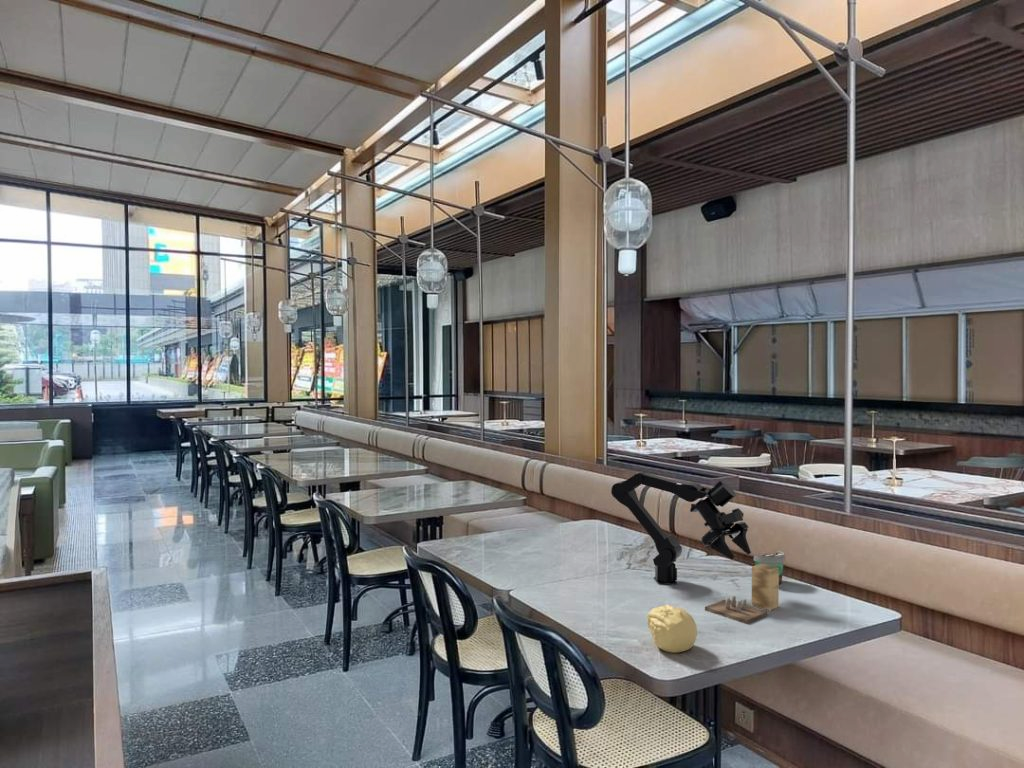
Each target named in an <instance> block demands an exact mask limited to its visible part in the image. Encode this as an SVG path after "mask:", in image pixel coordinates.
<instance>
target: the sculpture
mask: <svg viewBox="0 0 1024 768" xmlns="http://www.w3.org/2000/svg"><path fill="white" fill-rule="evenodd" d="M646 616H647V617H646V618H647V627H648V629H649V631H650V634H651V637H652V641H653V643H654V644H655V646H656V647H658V648H659V649H661V650H662V651H665V652H668V653H672V654H673V653H676V654H677V653H682V652H685V651H688V650H689V649H691V648H692V647H693V646H694V645H695V643H696V640H697V636H698V629H697V628H698V627H697V624H696V621H695V619H694V618H693V616H692V614H690V613H689V612H688V611H687V610H686V609H684V608H681V607H677V606H672V605H671V604H666V605H661V606H655V607H654V608H651V610H650V611H649V612H648V613H647V615H646Z"/></svg>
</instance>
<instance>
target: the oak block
mask: <svg viewBox="0 0 1024 768" xmlns="http://www.w3.org/2000/svg"><path fill="white" fill-rule="evenodd" d="M779 588H780V585H779V568H777V567H773V566H769V565H765V564H758V565H755V564H754V565H752V566H751V606H752V605H753V606H752V607H755V608H756V607H757V608H758V609H762V608H763V609H762V610H766V609H767V610H766V611H769V610H770V611H772V609H773V610H775V609H777V607H778V608H779V607H780V605H779V603H780V602H779V598H780V597H779V594H780V593H779V591H780V590H779ZM774 608H775V609H774Z"/></svg>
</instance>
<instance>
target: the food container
mask: <svg viewBox="0 0 1024 768" xmlns="http://www.w3.org/2000/svg"><path fill="white" fill-rule="evenodd" d="M753 561H754V566H755V565H758V564H765V565H769V566H773V567H777V568H779V586H780V585H782V584H783V583H782V580H783V572H784V571H783V570H784V563H785V562H786V555H785V553H784V552H783V551H781V550H777V552H775V553H765V554H763V555H762V554H761V555H758V554H754V556H753Z"/></svg>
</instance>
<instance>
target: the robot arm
mask: <svg viewBox="0 0 1024 768" xmlns="http://www.w3.org/2000/svg"><path fill="white" fill-rule="evenodd" d="M640 486H646V487H649V488H654V489H655V490H656V489H657V490H660V491H664V492H668V493H671V494H673V495H675V496H676V497H678V498H679V499H682V500H684V501H686V502H688V503H691V504H690V505H691V507H690V510H689V512H691V513H696V512H698V513H699V515H700V516H701V518H702V519H703V520H704V522H705V523H703V525H704V527H709V528H710V529H709V530H708V531H707V532H706V533H705V534H704V535H703V536H702V537H701V543H702V544H703V546H704V547H708V549H712V550H715V551H716V552H718V553H720V554H721V555H723V556H725V557H726V558H729V559H730V560H734V559H735V555H734V554H733V552H732V550H731V549H730V547H729V546H728V544H727V543H726V537H727V536H728V537H729V538H730V539H731V542H733V544H735V545H736V546H737V547H739V549H741V550H742V551H743V552H745V554H746V555H750V554H751V553H752V552H751V549H750V546H749V542H748V539H747V532H748V530H749V525H747V523H746V522H744V519H743V518H744V512H743V511H742V510H741V509H740V508H739V507H737V508H734V509H732V511H731V512H728V513H725V512H724V511H720V509H719V508H718V507H721V508H722V507H724V506H725V505H726V504H728V503H729V502H731V501H732V500H733V499H735V498H736V496H737V494H736V492H735V491H734V490H735V489H733V488H732V487H731V486H730V485H729V484H727V483H725V482H724V480H721V479H720V480H719V481H718V482H717V483H716V484H715V485H714V486H713V487H712V488H708V487H704V486H702V484H700V483H698V482H695V481H694V482H693V481H679V480H673V479H670V478H666V477H661V476H658V475H655V474H651V473H647V472H645V471H639V472H636V473H635V474H634V475H632V476H631V477H629V478H627V479H626V480H621V481H619V482H616V483H614V484H613V485H612V486H611V491H610V492H611V493H610V494H611V495H612V497H613V499H615V500H616V501H617V502H618V503H620V505H623V506H624V507H626V508H627V510H629V512H631V514H632V515H633V516H634V518H635V519H636V520H637V521H638V523H639V525H641V526H642V528H643V529H644V530H645V531H646V533H647V534H648V536H649V537H650V538H651V539H652V540H653V542H654V543H653V544H654V546H655V549H656V552H657V553H658V555H656V556H655V557H654V558H653V559H652V561H653V564H654V571H655V572H654V577H653V579H654V581H655V582H656V583H657V584H658V585H677V584H678V582H677V580H678V569H677V567H676V563H675V562H676V561H677V560H678V558H679V557H680V556H681V555H682V553H683V548H682V545H681V544H682V542H680V541H679V540H678V539H677V537H676V536H675V534H674V533H671V534H670V535H669V534H667V533H666V532H664V530H663V529H662V528H661V526H660V525H659V524H658V522H657V521H656V520H655V519H654V517H653V516H652V515H651V514H650V513H649V511H648V510H647V509H646V507H645V506H644V505H643V504H642V502H640V500H639V498H638V494H637V491H636V490H635V489H637V488H638V487H640ZM698 500H699V501H698ZM695 501H697V502H696V503H693V502H695Z"/></svg>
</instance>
